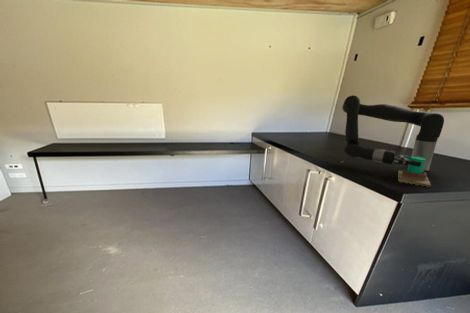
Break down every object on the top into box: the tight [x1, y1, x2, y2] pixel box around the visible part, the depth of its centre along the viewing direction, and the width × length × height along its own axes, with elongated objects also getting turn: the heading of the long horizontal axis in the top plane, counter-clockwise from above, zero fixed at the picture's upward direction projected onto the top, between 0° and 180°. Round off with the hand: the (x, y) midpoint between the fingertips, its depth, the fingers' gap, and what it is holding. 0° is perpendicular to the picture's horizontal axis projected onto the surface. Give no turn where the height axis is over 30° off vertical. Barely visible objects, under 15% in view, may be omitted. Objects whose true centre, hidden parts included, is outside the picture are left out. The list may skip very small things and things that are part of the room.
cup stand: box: [397, 167, 432, 188], centre depth 106 cm, size 18×12×4 cm, turn 142°
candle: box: [407, 155, 426, 174], centre depth 105 cm, size 6×6×12 cm
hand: (422, 162), depth 103 cm, fingers open, 8 cm apart
